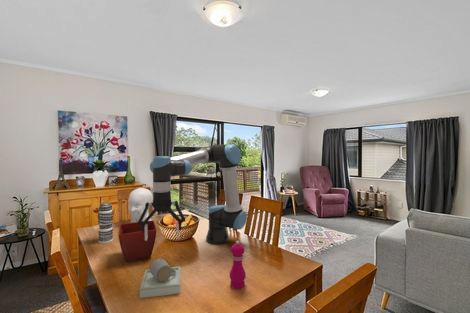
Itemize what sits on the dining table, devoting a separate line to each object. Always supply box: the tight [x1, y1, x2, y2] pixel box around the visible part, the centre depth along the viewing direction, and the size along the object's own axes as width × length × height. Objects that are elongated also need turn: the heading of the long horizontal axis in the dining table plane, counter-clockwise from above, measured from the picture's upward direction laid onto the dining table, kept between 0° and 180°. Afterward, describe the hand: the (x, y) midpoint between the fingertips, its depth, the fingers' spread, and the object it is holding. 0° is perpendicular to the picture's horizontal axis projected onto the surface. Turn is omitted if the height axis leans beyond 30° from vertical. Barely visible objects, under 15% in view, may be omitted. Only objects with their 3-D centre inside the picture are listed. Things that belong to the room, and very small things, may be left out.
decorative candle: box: [97, 202, 114, 244], centre depth 159 cm, size 9×9×25 cm
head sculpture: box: [128, 187, 153, 223], centre depth 194 cm, size 20×23×30 cm
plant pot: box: [117, 220, 157, 263], centre depth 136 cm, size 19×19×17 cm
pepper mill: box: [229, 240, 246, 290], centre depth 106 cm, size 7×7×20 cm
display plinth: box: [139, 266, 181, 299], centre depth 106 cm, size 16×16×4 cm
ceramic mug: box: [149, 258, 176, 282], centre depth 107 cm, size 11×8×8 cm
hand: (162, 238), depth 107 cm, fingers open, 13 cm apart
